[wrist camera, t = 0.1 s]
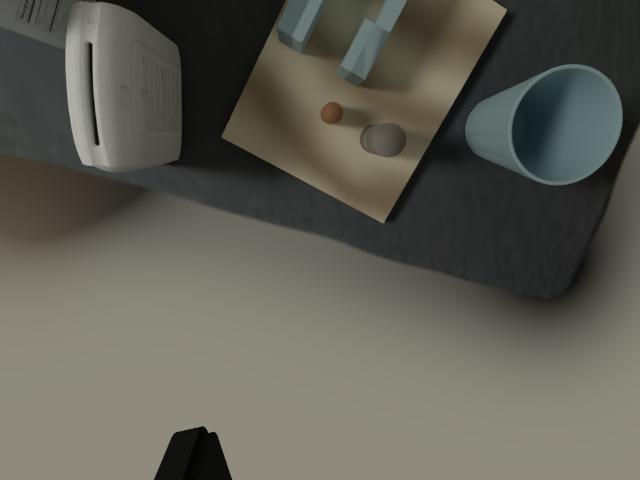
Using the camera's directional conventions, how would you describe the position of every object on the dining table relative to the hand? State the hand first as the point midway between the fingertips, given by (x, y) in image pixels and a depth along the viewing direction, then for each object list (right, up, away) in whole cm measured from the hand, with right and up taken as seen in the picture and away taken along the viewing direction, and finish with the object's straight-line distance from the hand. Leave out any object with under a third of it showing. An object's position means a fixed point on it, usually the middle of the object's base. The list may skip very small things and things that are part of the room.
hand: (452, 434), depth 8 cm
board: (+1, +18, +28) cm, 33 cm away
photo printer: (-16, +16, +28) cm, 36 cm away
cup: (+13, +14, +29) cm, 35 cm away
